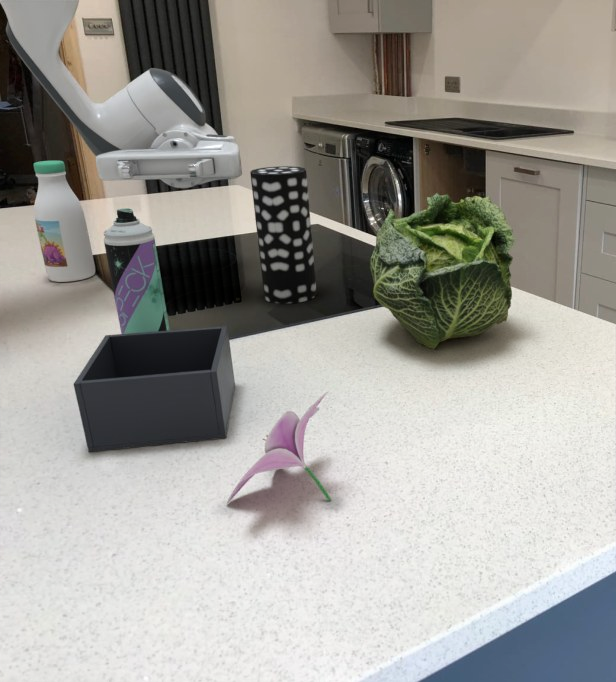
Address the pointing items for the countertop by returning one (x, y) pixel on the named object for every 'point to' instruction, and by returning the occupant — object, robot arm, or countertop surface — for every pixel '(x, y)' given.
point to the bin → (157, 388)
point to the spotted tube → (284, 233)
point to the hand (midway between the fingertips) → (159, 171)
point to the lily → (284, 447)
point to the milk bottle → (61, 226)
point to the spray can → (135, 275)
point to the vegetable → (445, 268)
